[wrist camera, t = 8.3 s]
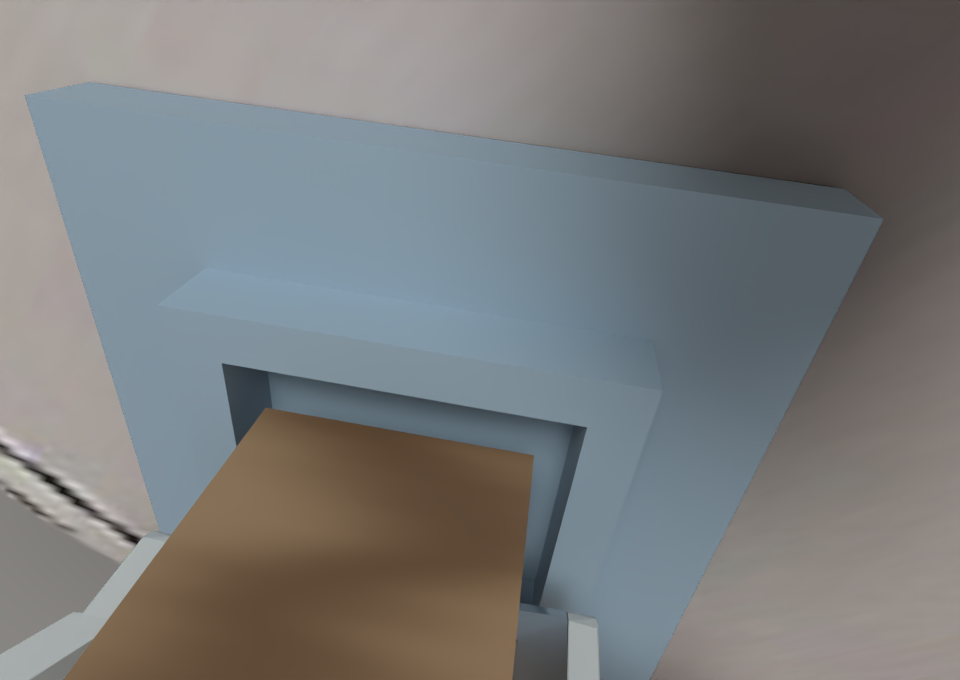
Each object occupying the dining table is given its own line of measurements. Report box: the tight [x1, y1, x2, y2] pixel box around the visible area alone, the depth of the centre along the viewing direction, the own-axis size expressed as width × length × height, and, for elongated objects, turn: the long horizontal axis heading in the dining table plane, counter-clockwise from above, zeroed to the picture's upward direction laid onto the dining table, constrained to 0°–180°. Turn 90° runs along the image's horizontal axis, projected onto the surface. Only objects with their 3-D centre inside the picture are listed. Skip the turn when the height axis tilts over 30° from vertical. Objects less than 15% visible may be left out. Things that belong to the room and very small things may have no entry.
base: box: [25, 82, 884, 680], centre depth 13 cm, size 14×14×3 cm
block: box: [63, 408, 534, 680], centre depth 10 cm, size 5×5×5 cm
